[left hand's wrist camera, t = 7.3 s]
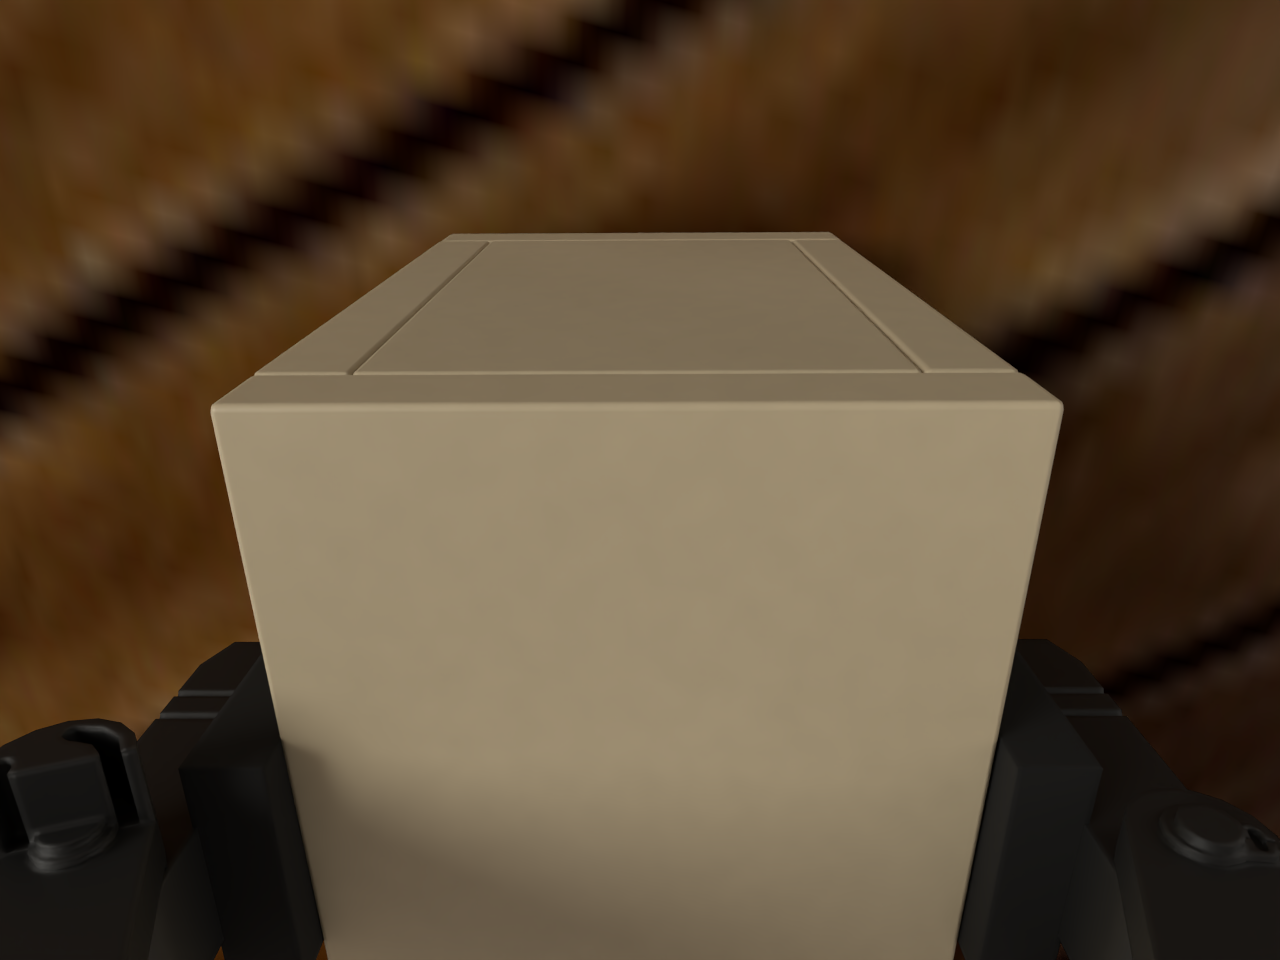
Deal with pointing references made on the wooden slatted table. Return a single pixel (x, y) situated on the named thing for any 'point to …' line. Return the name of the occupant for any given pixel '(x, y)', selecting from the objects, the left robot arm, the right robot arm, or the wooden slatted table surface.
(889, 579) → the cabinet
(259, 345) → the wooden slatted table surface
